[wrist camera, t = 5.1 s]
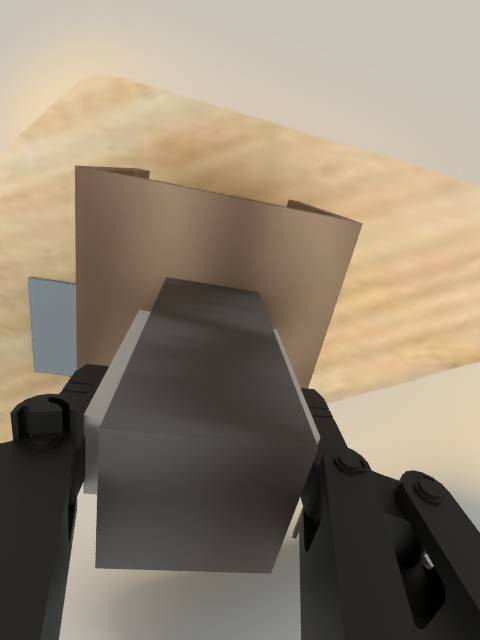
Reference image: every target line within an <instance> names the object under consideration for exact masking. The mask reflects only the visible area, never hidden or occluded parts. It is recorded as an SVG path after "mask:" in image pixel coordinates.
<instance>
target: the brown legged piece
mask: <svg viewBox="0 0 480 640" xmlns="http://www.w3.org/2000/svg"><path fill="white" fill-rule="evenodd" d="M149 172H150V171H148V170H143V169H135V168H113V167H91V166H75V221H76V344H77V370H78V369H80V368H81V367H83V366H84V365H86V364H94V365H103V366H110V364H111V363H112V361H113V359H114V357H115V355H116V353H117V351H118V349H119V347H120V346H121V344H122V342H123V340H124V338H125V336H126V334H127V332H128V331H129V329H130V327H131V325H132V323H133V321H134V319H135V317H136V315H137V314H138V312H139V310H143V311H150V315H149V317H148V319H147V321H146V324H145V326H144V328H143V330H142V333H141V335H140V337H139V339H138V342H137V344H136V346H135V348H134V351H133V353H132V355H131V357H130V360H129V362H128V364H127V366H126V369H125V371H124V373H123V375H122V378H121V380H120V382H119V384H118V387H117V389H116V391H115V393H114V396H113V398H112V400H111V403H110V405H109V407H108V409H107V412H106V414H105V416H104V418H103V421H102V423H101V425H100V427H99V449H98V487H97V527H96V565H95V568H104V569H107V568H108V569H138V570H171V571H205V572H239V573H271V572H272V569H273V566H274V564H275V561H276V559H277V556H278V553H279V550H280V548H281V546H282V543H283V540H284V538H285V535H286V532H287V530H288V527H289V524H290V522H291V519H292V517H293V514H294V511H295V509H296V506H297V504H298V501H299V498H300V496H301V493H302V490H303V488H304V485H305V483H306V480H307V477H308V475H309V472H310V469H311V467H312V464H313V462H314V459H315V456H316V454H317V451H318V445H317V443H316V440H315V437H314V435H313V432H312V430H311V427H310V424H309V422H308V419H307V416H306V414H305V411H304V409H303V406H302V403H301V401H300V398H299V396H298V393H297V390H296V388H295V385H294V383H293V380H292V377H291V375H290V372H289V370H288V367H287V364H286V362H285V359H284V356H283V354H282V351H281V349H280V346H279V343H278V341H277V338H276V336H275V333H274V330H273V329H276V330H277V331H278V334H279V336H280V339H281V341H282V344H283V346H284V349H285V351H286V354H287V356H288V359H289V361H290V364H291V366H292V369H293V371H294V373H295V376H296V378H297V381H298V383H299V386H300V388H307V389H308V386H309V383H310V380H311V377H312V374H313V371H314V368H315V365H316V362H317V359H318V356H319V353H320V350H321V347H322V344H323V341H324V338H325V335H326V332H327V329H328V326H329V323H330V320H331V317H332V314H333V311H334V308H335V305H336V302H337V299H338V296H339V293H340V290H341V287H342V284H343V281H344V278H345V275H346V272H347V269H348V266H349V263H350V260H351V257H352V254H353V251H354V248H355V245H356V242H357V239H358V236H359V233H360V230H361V227H362V223H359V222H357V221H354V220H351V219H348V218H345V217H342V216H339V215H336V214H333V213H330V212H327V211H325V210H322V209H319V208H316V207H313V206H310V205H307V204H304V203H301V202H298V201H294V200H288V205H287V207H284V206H279V205H274V204H269V203H264V202H259V201H254V200H249V199H244V198H239V197H234V196H229V195H224V194H220V193H215V192H210V191H205V190H200V189H195V188H190V187H185V186H180V185H175V184H170V183H165V182H160V181H155V180H150V179H149Z"/></svg>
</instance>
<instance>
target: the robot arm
mask: <svg viewBox="0 0 480 640" xmlns="http://www.w3.org/2000/svg"><path fill="white" fill-rule="evenodd" d="M149 315H150V311H143V310H139V312H138V314H137V315H136V317H135V319H134V321H133V323H132V325H131V327H130V329H129V331H128V332H127V334H126V336H125V338H124V340H123V342H122V344H121V346H120V347H119V349H118V351H117V353H116V355H115V357H114V359H113V361H112V363H111V364H110V366H103V365H94V364H86V365H84V366H83V367H81V368H80V369H78V370H76V371H75V372H74V374H73V375H72V377H71V378H70V379H69V381H68V383H67V384H66V385H65V387H64V388H63V390H62V392H60V394H44V395H37V396H35V397H32V398H29V399H26V400H24V401H23V402H21V403H20V404H18V405H17V406H16V407H15V408H14V409H13V411H12V412H11V413H10V414H11V423H12V432H13V441H10V442H6V443H1V444H0V640H59V634H60V627H61V620H62V613H63V612H62V611H63V605H64V598H65V591H66V584H67V577H68V569H69V562H70V555H71V548H72V541H73V534H74V527H75V519H76V512H77V496H78V493H79V491H80V488H81V486H82V483H83V481H84V493H85V494H97V487H98V449H99V427H100V425H101V423H102V421H103V418H104V416H105V414H106V412H107V409H108V407H109V405H110V403H111V400H112V398H113V396H114V393H115V391H116V389H117V387H118V384H119V382H120V380H121V378H122V375H123V373H124V371H125V369H126V366H127V364H128V362H129V360H130V357H131V355H132V353H133V351H134V348H135V346H136V344H137V342H138V339H139V337H140V335H141V333H142V330H143V328H144V326H145V324H146V321H147V319H148V317H149ZM273 330H274V333H275V336H276V338H277V341H278V343H279V346H280V349H281V351H282V354H283V356H284V359H285V362H286V364H287V367H288V370H289V372H290V375H291V377H292V380H293V383H294V385H295V388H296V390H297V393H298V396H299V398H300V401H301V403H302V406H303V409H304V411H305V414H306V416H307V419H308V422H309V424H310V427H311V430H312V432H313V435H314V437H315V440H316V443H317V445H318V451H317V454H316V456H315V459H314V462H313V464H312V467H311V469H310V472H309V475H308V477H307V480H306V483H305V485H304V488H303V490H302V493H301V496H300V497H301V500H302V504H303V508H302V511H301V513H300V516H299V519H298V521H297V523H296V526H295V528H294V532H293V536H292V538H296V537H297V535H298V532H299V543H300V544H299V546H300V601H301V640H480V533H479V531H478V530H477V529H476V527H475V526H474V524H473V523H472V522H471V520H470V519H469V518H468V516H467V515H466V514H465V513H464V511H463V510H462V508H461V507H460V506H459V505H458V503H457V502H456V501H455V499H454V498H453V496H452V495H451V494H450V492H449V491H448V490H447V489H446V488H445V487H444V486H443V485H442V484H441V483H439V482H438V481H436V480H435V479H434V478H433V477H431V476H428V475H426V474H424V473H422V472H418V471H414V470H413V471H406V472H405V473H404V474H403V475H402V476H401V478H400V480H399V481H398V480H395V479H393V478H390V477H387V476H384V475H381V474H379V473H376V472H374V471H372V470H371V468H370V466H369V464H368V462H367V461H366V460H365V459H364V458H363V457H362V456H361V455H360V454H358V453H357V452H355V451H354V450H352V449H350V448H348V447H347V445H346V443H345V441H344V439H343V437H342V435H341V432H340V431H339V428H338V426H337V424H336V422H335V421H334V419H333V416H332V414H331V412H330V411H329V408H328V406H327V404H326V402H325V400H324V398H323V397H322V396H321V395H320V394H319V393H318V392H317V391H316V390H315V389H307V388H300V386H299V383H298V381H297V378H296V376H295V373H294V371H293V369H292V366H291V364H290V361H289V359H288V356H287V354H286V351H285V349H284V346H283V344H282V341H281V339H280V336H279V334H278V331H277V330H276V329H273ZM426 553H427V554H428V556H429V558H430V560H431V562H432V563H433V565H434V567H431V566H430V564H429V563H428V561H427V560H426V558H425V557H424V555H425V554H426Z"/></svg>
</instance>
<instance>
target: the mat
mask: <svg viewBox="0 0 480 640" xmlns="http://www.w3.org/2000/svg"><path fill="white" fill-rule="evenodd" d="M28 285H29V299H30V313H31V327H32V341H33V355H34V370H35V372H39V373H48V374H56V375H65V376H72V375H73V374H74V372H75V371H76V370H77V344H76V284H74V283H67V282H61V281H54V280H48V279H41V278H35V277H29V278H28Z"/></svg>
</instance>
